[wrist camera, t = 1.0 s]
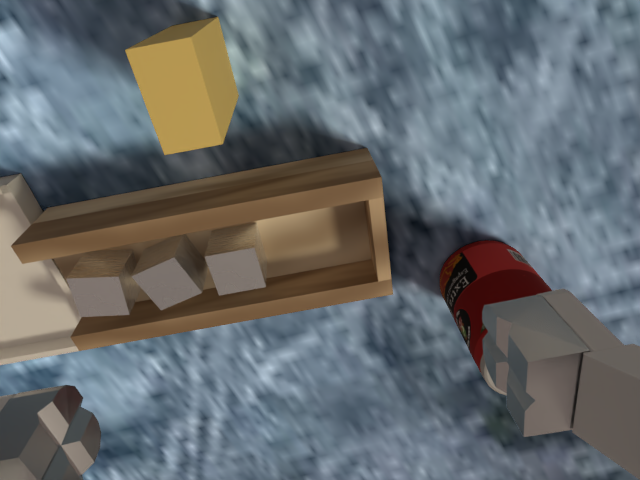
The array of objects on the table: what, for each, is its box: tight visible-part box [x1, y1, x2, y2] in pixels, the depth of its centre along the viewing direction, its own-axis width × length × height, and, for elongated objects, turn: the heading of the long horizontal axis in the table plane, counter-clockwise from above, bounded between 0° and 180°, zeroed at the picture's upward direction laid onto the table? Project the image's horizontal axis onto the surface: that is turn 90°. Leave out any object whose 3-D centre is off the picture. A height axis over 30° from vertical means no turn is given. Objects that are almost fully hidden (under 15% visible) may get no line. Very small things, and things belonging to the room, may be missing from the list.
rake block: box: [125, 17, 239, 155], centre depth 25 cm, size 5×3×10 cm, turn 9°
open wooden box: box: [11, 148, 393, 351], centre depth 34 cm, size 10×25×6 cm, turn 99°
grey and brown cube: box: [66, 249, 141, 317], centre depth 33 cm, size 4×4×4 cm
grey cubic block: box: [205, 223, 267, 296], centre depth 32 cm, size 4×4×4 cm
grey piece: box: [131, 234, 208, 310], centre depth 33 cm, size 4×4×4 cm
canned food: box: [440, 240, 552, 395], centre depth 36 cm, size 8×8×11 cm
